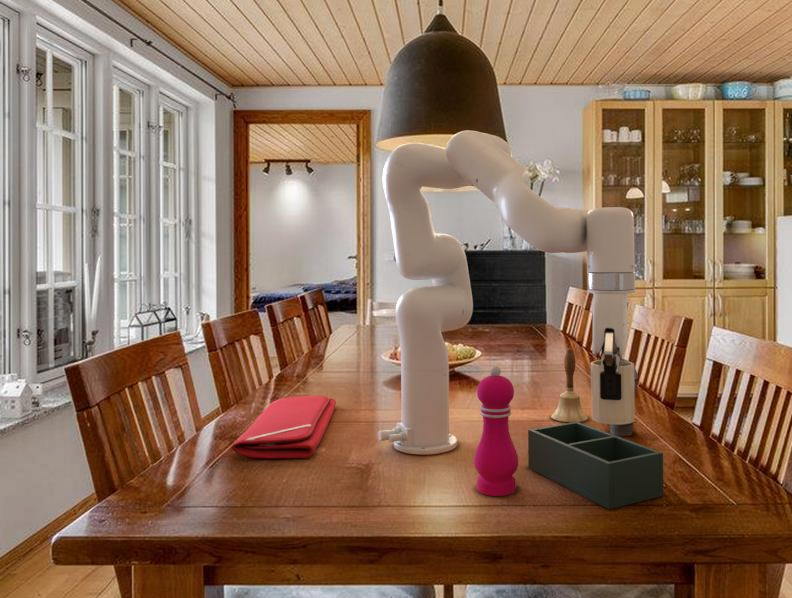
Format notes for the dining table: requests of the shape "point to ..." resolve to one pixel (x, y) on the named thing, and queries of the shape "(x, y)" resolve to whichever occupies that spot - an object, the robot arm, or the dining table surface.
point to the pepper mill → (495, 437)
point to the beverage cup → (625, 428)
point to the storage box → (596, 464)
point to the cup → (613, 409)
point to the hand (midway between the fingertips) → (612, 393)
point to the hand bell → (569, 396)
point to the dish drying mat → (287, 428)
